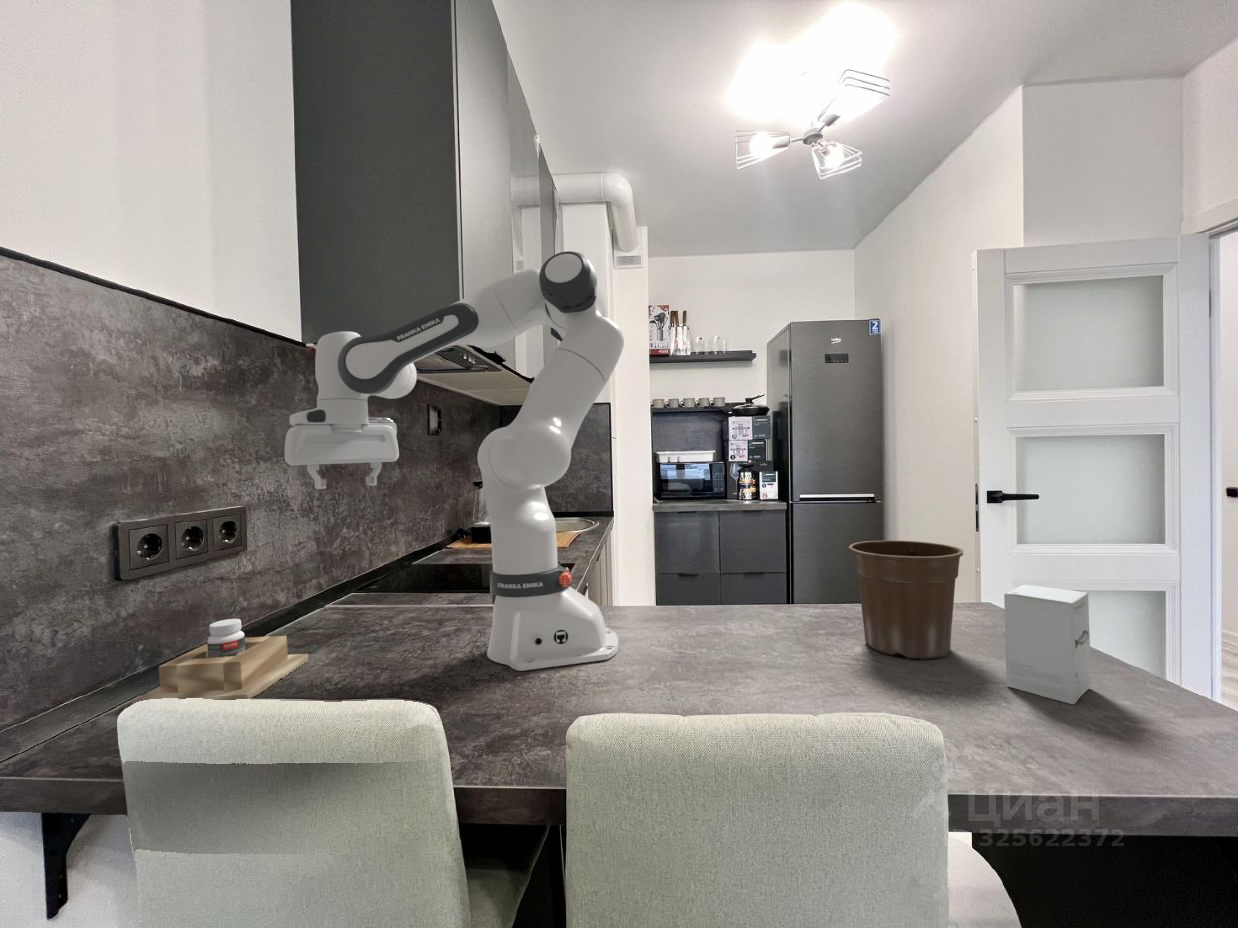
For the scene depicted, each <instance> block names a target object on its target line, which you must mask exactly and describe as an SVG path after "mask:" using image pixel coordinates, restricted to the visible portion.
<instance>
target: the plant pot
mask: <svg viewBox="0 0 1238 928" xmlns="http://www.w3.org/2000/svg"><path fill="white" fill-rule="evenodd" d="M848 548H849V551H851V552H852V553H851V554H852V557H853V567H854V571H855V572H856V575H857V582H858V589H859V597H860V605H861V606H860V607H861V614H862V615H861V616H862V622H863V623H862V624H863V630H864V640H865V644H867V646H869V647H870V648H872V649H874V650H875V651H878V652H881V653H883V654H886V655H890V656H895V655H897V654H899V655H902V656H904V657H905V658H907V659H916V660H917V659H921V660H932V659H938V658H943V657H945V656H947V655H949V653H950V649H951V647H952V645H951V644H952V630H953V629H952V628H953V615H954V614H953V613H954V601H955V589H956V579H957V578H958V577H959V569H960V568H959V567H960V560H961V557H962V556H963V555H964V549H961V548H960V547H957V546H953V545H949V544H945V543H943V544H942V543H936V542H935V543H934V542H927V541H926V542H925V541H919V540H917V541H915V540H868V541H866V540H865V541H859V542H855V543H852V544H850V545H849V546H848Z"/></svg>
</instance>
